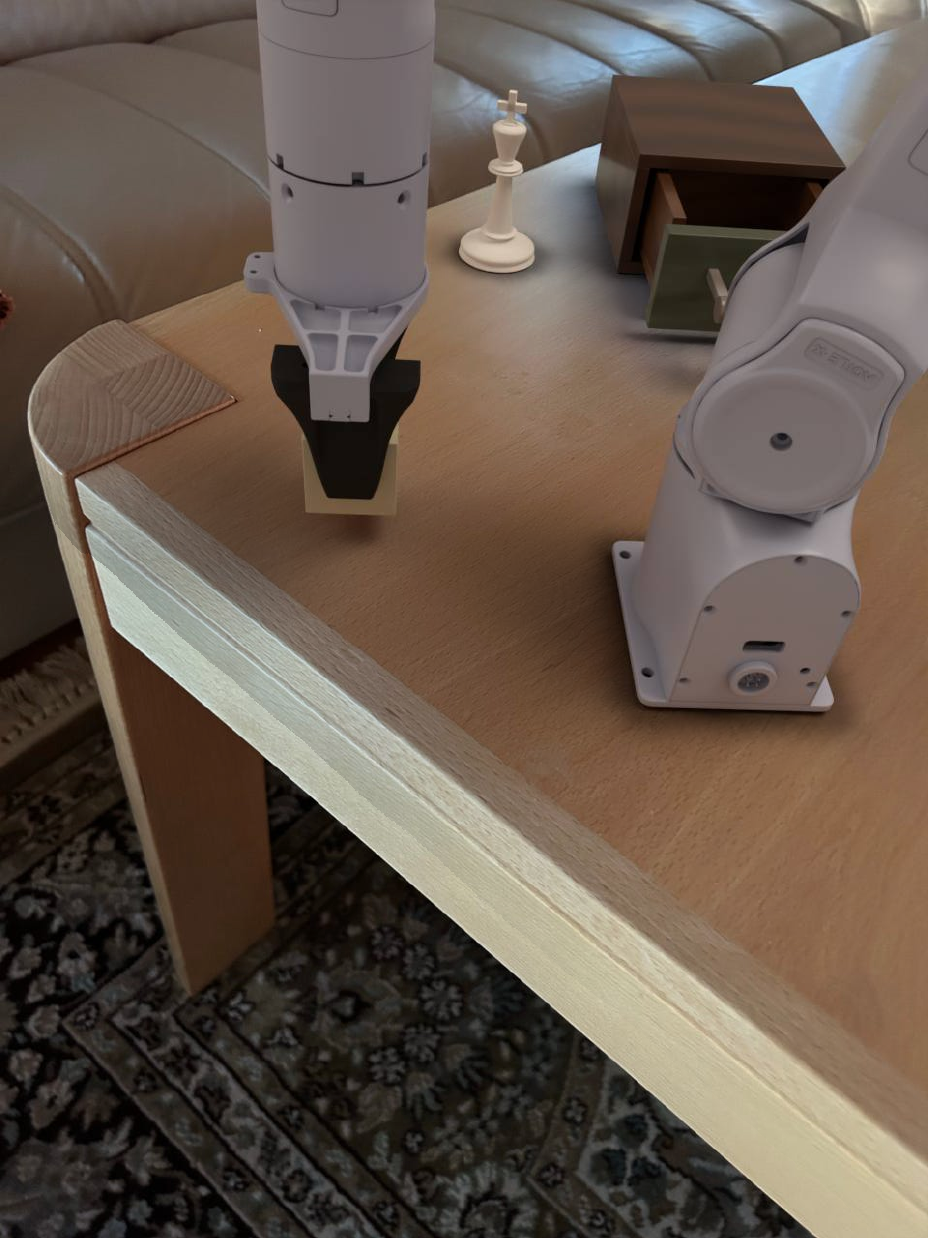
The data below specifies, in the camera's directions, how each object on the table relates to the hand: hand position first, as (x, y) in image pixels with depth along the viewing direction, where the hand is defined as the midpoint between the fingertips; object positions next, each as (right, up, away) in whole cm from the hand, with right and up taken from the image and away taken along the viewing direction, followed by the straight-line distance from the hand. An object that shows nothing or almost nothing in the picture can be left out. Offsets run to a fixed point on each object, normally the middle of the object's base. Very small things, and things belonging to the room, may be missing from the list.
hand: (353, 461), depth 46 cm
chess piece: (+7, +17, +21) cm, 27 cm away
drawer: (+21, +12, +17) cm, 30 cm away
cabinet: (+21, +20, +25) cm, 38 cm away
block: (0, -1, +1) cm, 1 cm away
